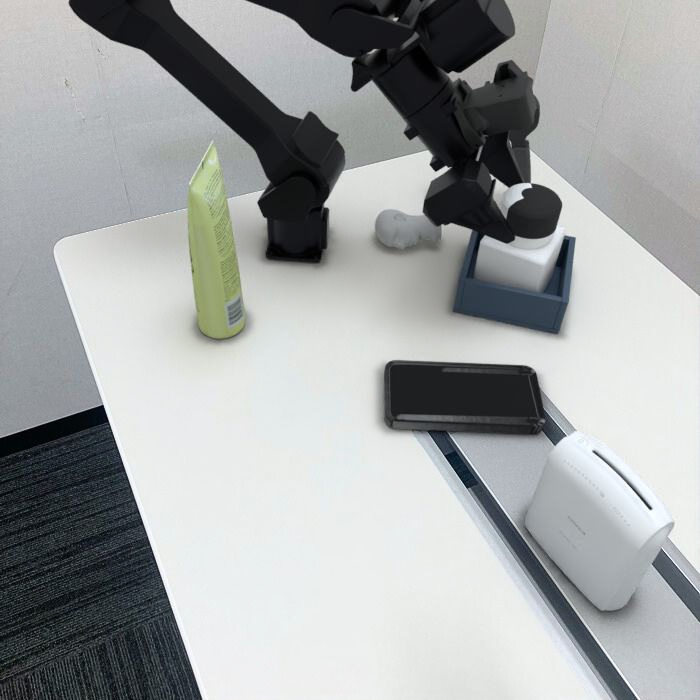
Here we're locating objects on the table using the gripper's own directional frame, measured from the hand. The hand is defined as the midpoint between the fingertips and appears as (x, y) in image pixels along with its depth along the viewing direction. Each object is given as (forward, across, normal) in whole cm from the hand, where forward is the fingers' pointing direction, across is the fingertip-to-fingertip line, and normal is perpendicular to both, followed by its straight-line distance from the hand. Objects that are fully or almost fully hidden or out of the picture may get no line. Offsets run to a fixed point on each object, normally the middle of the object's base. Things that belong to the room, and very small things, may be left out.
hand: (517, 214), depth 78 cm
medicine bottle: (+8, 0, +6) cm, 10 cm away
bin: (+8, 0, +6) cm, 10 cm away
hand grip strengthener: (+4, +16, +11) cm, 20 cm away
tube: (-12, -15, +27) cm, 33 cm away
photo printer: (+15, -32, 0) cm, 35 cm away
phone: (+6, -18, +8) cm, 20 cm away
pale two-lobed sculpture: (-1, +5, +16) cm, 16 cm away
